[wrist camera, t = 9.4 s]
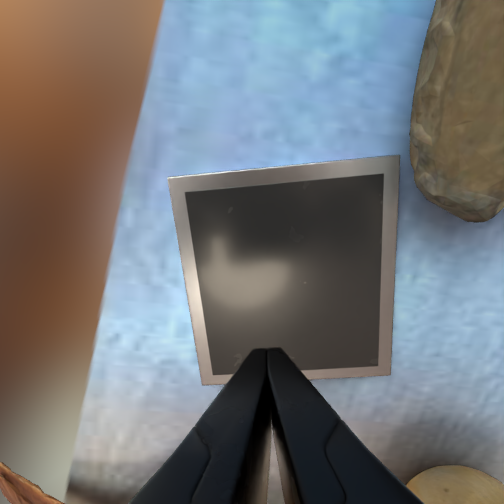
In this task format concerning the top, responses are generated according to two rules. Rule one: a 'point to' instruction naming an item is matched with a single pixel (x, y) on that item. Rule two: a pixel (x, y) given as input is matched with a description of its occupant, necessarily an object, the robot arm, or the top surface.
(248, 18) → the top surface
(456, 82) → the stone
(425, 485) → the tan rounded piece
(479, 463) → the top surface
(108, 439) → the top surface
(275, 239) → the tablet
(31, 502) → the bird sculpture
